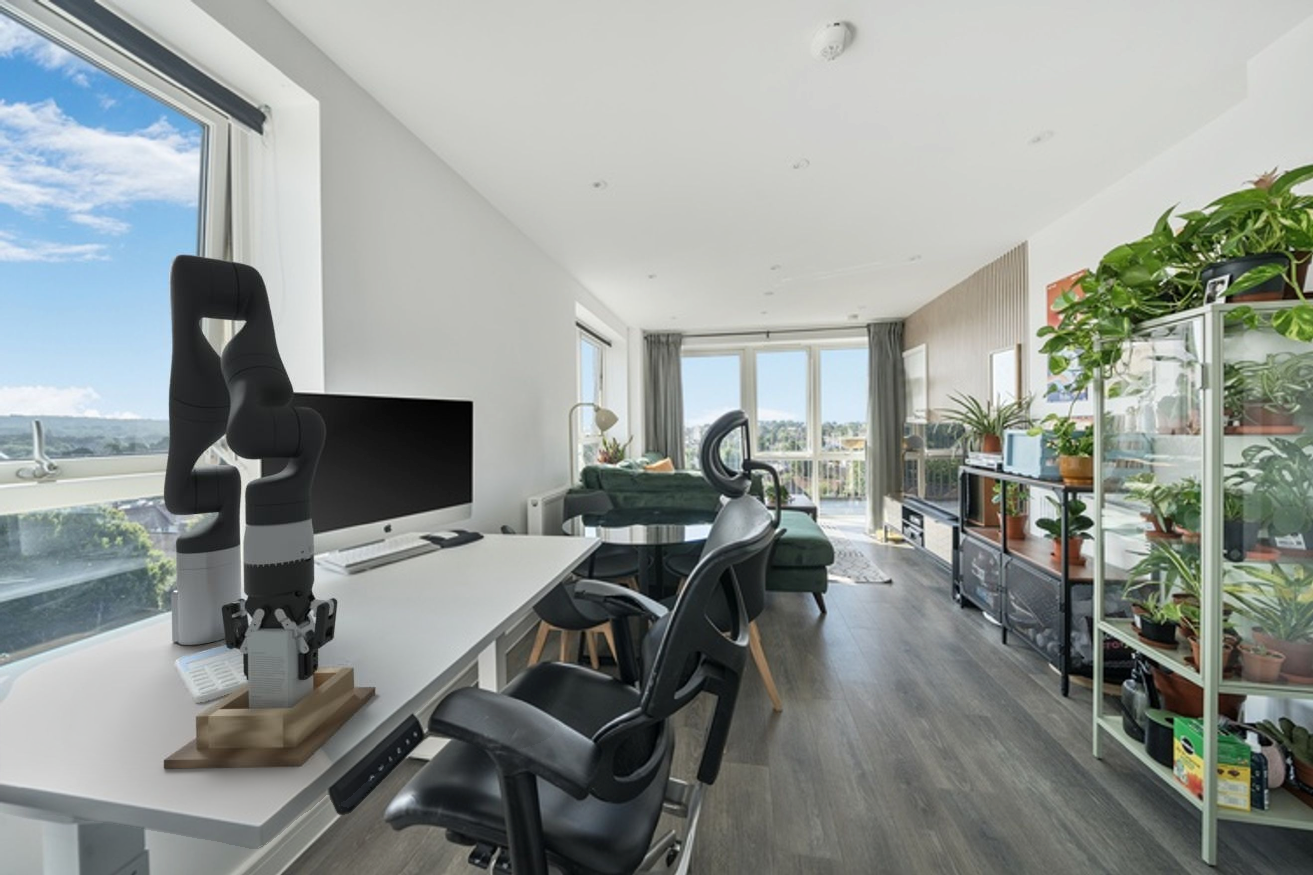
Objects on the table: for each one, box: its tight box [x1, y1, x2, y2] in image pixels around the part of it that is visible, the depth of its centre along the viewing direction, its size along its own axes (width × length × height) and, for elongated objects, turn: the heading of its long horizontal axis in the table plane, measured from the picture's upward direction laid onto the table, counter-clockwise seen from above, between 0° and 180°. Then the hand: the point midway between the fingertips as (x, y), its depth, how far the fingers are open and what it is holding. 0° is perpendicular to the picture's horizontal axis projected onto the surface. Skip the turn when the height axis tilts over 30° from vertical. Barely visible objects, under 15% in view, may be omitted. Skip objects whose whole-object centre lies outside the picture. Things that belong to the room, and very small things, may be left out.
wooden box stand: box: [163, 667, 376, 769], centre depth 66 cm, size 16×16×5 cm
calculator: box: [174, 644, 248, 704], centre depth 82 cm, size 13×20×2 cm, turn 52°
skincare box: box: [248, 621, 313, 709], centre depth 66 cm, size 6×4×12 cm
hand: (281, 676), depth 66 cm, fingers closed on skincare box, 6 cm apart
